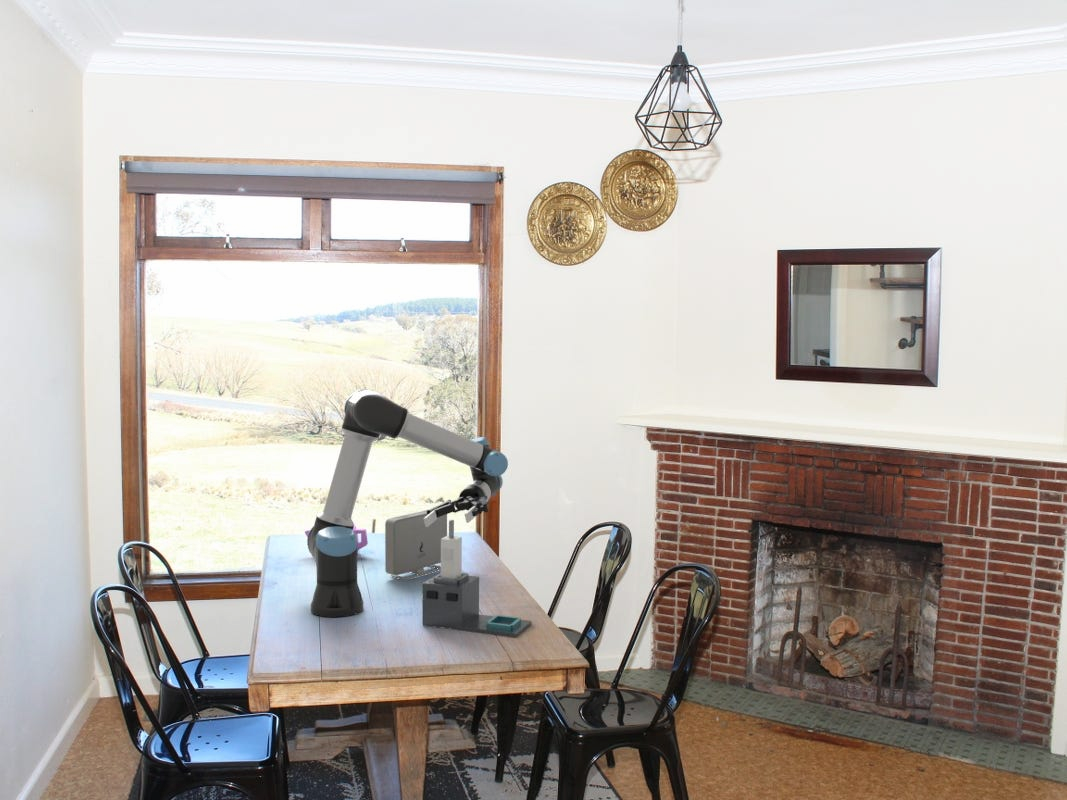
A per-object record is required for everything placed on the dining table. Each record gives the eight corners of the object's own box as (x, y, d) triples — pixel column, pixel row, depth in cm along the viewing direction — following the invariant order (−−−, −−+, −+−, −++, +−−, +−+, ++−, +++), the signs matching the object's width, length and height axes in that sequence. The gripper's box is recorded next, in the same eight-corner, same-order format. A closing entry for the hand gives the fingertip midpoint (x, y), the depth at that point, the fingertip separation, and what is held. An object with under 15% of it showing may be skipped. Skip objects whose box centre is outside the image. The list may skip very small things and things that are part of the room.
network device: (398, 583, 319) (398, 521, 318) (379, 578, 325) (379, 518, 323) (451, 567, 340) (452, 509, 338) (433, 563, 345) (433, 506, 343)
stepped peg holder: (515, 638, 267) (516, 589, 266) (421, 625, 276) (421, 579, 275) (531, 624, 279) (532, 578, 278) (440, 613, 288) (440, 568, 287)
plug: (453, 583, 276) (454, 523, 274) (439, 581, 277) (439, 521, 276) (461, 578, 281) (461, 519, 279) (447, 577, 282) (447, 518, 281)
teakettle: (371, 556, 354) (371, 522, 353) (331, 565, 341) (331, 529, 340) (342, 548, 365) (342, 515, 364) (303, 556, 353) (302, 522, 352)
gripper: (513, 503, 305) (487, 528, 286) (442, 511, 314) (412, 536, 295) (508, 480, 304) (481, 503, 284) (436, 489, 313) (405, 512, 294)
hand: (445, 520), depth 290 cm, fingers open, 13 cm apart
